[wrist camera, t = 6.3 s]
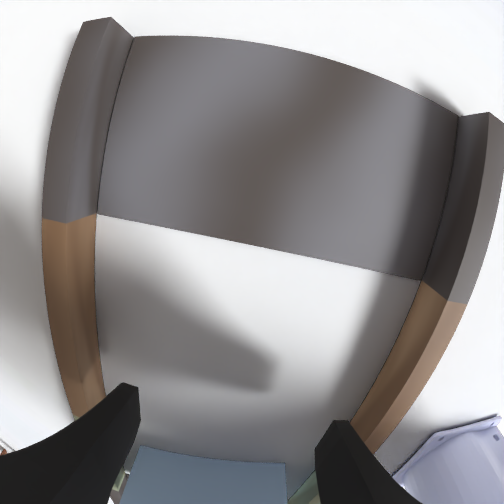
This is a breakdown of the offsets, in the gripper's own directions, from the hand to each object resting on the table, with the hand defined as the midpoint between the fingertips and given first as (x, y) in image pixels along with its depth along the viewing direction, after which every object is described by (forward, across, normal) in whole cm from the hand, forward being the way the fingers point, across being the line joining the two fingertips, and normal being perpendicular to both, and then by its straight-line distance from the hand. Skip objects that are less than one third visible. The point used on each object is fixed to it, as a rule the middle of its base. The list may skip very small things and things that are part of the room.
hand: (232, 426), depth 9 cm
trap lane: (+3, 0, +6) cm, 6 cm away
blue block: (+3, 0, +10) cm, 11 cm away
